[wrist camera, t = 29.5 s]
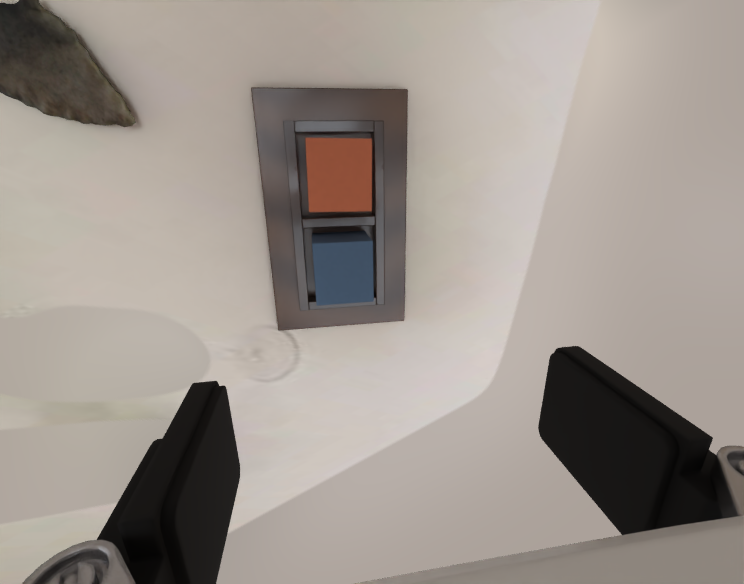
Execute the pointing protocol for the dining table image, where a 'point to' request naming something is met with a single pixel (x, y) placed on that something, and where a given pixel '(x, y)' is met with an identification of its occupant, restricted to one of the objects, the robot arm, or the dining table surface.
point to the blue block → (343, 267)
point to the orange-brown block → (339, 174)
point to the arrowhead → (54, 68)
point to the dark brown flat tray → (296, 224)
